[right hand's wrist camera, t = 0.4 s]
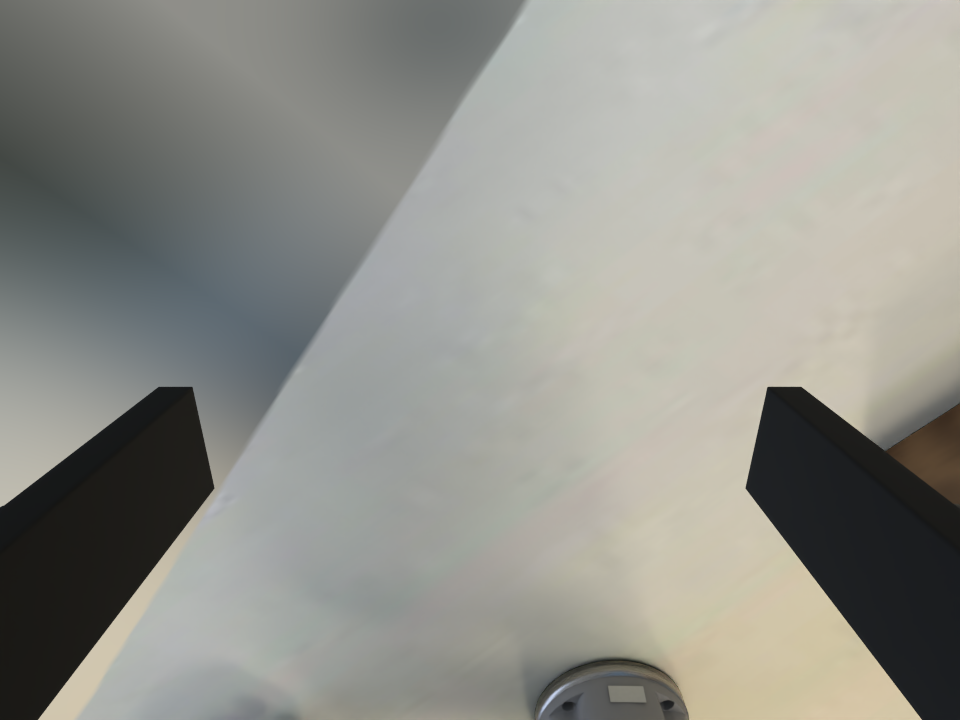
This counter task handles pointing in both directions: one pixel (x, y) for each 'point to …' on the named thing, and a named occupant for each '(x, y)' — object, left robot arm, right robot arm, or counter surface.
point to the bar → (935, 454)
